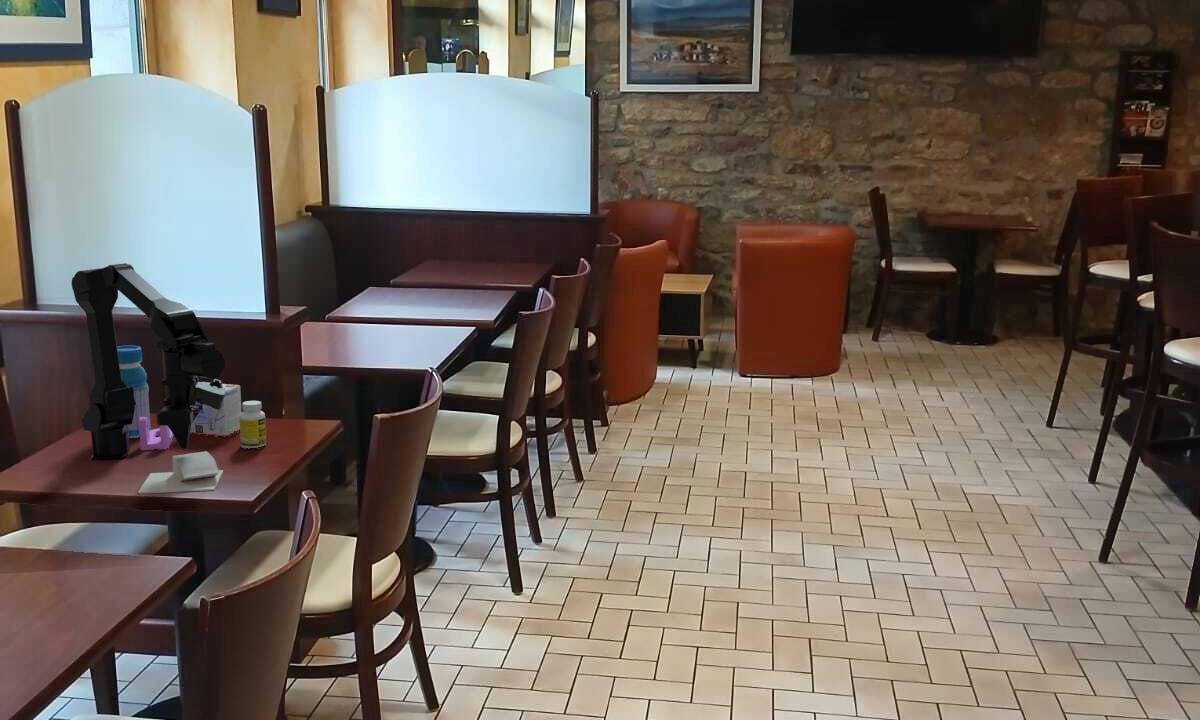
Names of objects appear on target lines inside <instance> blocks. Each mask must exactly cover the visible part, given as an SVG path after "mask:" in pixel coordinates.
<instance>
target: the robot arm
mask: <svg viewBox="0 0 1200 720" xmlns="http://www.w3.org/2000/svg"><path fill="white" fill-rule="evenodd" d="M71 288H72V291H73V294H74V298H75V299H74V300H75V302H76V304H77V305H79V307H80V308H81V310H83V312H85V315H86V323H87V329H88V337H89V344H90V350H91V359H92V365H93V371H94V380H95V382H94V385H93V388H92V389H91V392H90V394H89V408H88V409H87V411H86V412H85V414H83V415H84V416H83V417H82V419H81V424H82V428H83V430H84V431H87V432H90V433H91V434H90V435H91V447H92V455H91V456H90V460H110V459H111V460H113V459H124V458H125V457H126V456H127V454H128V453H129V452H130V450H131V446H130V439H129V432H128V431H127V432H126V427H125V425H130V424H132V422H133V416H134V412H135V405H136V402H135V399H134V390H133V388H132V387H131V386H130V387H128V386H127V385H126V384H125V383H124V381H123V380H122V378H121V372H120V365H119V358H118V351H117V345H118V344H117V337H116V331H115V323H114V316H113V309H114V307H115V305H116V303H117V301H118V298H119V292H120V293H121V294H122V295H123V296H124V297H125V298H127V300H128V301H130V302H131V303H132V304H134V306H135V307H136V308H138V310H140V311H141V312H143V314H144V315H145V316H146V317H147V318H148V322H149V323H148V324H149V327H150V328H151V330H153V332H154V333H155V334H156V336H157V337H158V338H159V339H160V340H159V341H158V342H157V343H155V345H154V348H155V349H156V350H157V349H158V350H161V352H162V366H163V379H162V381H161V384H162V386H164V393H165V399H164V400H163V408H162V409H160V411H159V412H158V413H157V415H156V425H157V426H159V427H160V426H163V425H168V427H169V429H170V430H171V432H172V433H173V435H174V438H175V440H176V442H177V443H178V445H179V447H180V448H181V449H182V450H184V449H188V446H189V441H190V434H191V433H190V430H191V425H192V422H193V421H194V420H195V418H196V417H197V415H198V414H199V412H200V410H193V407H191V406H192V405H196V402H198V403H200V405H203V404H204V405H208V406H211V407H212V408H214V409H220V407H221V406H222V403H223V400H224V397H225V394H226V390H225V388H223V387H222V384H223V381H222V380H220V379H217V378H219V377H220V376H221V375H222V374H223V372H224V369H225V367H226V359H225V358H224V355H223V353H222V352H220V350H217V349H216V344H215V343H214V342H210V340H209V338H208V337H207V333H206V331H205V330H204V328H203V327H202V325H201V323H200V321H199V320H198V318H197V315H196V314H195V312H194V311H193V310H192V309H191V308H189V307H188V306H186V305H184V304H182V303H180V302H177V301H173V300H171V299H168V298H166V297H165V296H164V295H162V293H161V292H159V291H158V290H157V289H156V288H155V287H153V286H152V285H151V284H150V283H149V282H147V280H145V279H144V278H143V277H142V276H141V275H140V274H139V273H137V272H136V271H135V269H134V266H133V265H132V264H130V263H129V264H128V263H117V264H109V265H107V266H105V267H102V268H101V267H100V268H95V269H93V268H92V269H86V270H84V269H83V270H79V271H77V272H76V273H75V274H74V276H72V278H71ZM199 378H204V379H209V380H211V379H212V380H211V381H210V382H208V383H210V384H208V383H201V382H202V381H201V382H200V381H199V380H200V379H199Z"/></svg>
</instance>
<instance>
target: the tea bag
mask: <svg viewBox="0 0 1200 720" xmlns="http://www.w3.org/2000/svg"><path fill="white" fill-rule="evenodd" d="M171 457H172V458H171V459H172V472H173V474H174V475H175V476H176V477H177V479H178V480H179V481H180V482H182V481H188V480H195V479H202V478H208V477H215V476H216V475H218V473H220V472H219V470H220V469H219V468H218V466H217V465H218V464H217V463H216V460H215V458H214V457H213V456H212V455H211V454H210V453H209V452H208V451H206V450H205V451H200V452H199V451H198V452H193V453H185V454H178V455H172V456H171Z"/></svg>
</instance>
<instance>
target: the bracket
mask: <svg viewBox="0 0 1200 720" xmlns="http://www.w3.org/2000/svg"><path fill="white" fill-rule="evenodd" d="M139 433H140V438H139V444H140V451H152V450H153V451H154V449H158V450H168V449H169V448H170V446H171V444H172V442H173V440H172V438H173V436H174V435H173V433H172V432H171V430H170V429H169V427H168V425H163V426H159V427H158V428H154V429H151V430H150V431H149V423H148V418H147V417H140V418H139ZM159 434H160V436H158V437H156V436H157V435H159ZM173 439H174V438H173ZM171 441H172V442H171ZM170 443H171V444H170ZM169 445H170V446H169ZM167 448H168V449H167Z"/></svg>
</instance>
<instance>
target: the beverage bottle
mask: <svg viewBox="0 0 1200 720" xmlns="http://www.w3.org/2000/svg"><path fill="white" fill-rule="evenodd" d="M117 351H118V358H119V365H120V372H121V378H122V380H123V381H124V383H125V384H126V385H127V386H128V387H130V386H131V387H132V388H133V390H134V399H135V402H136V405H135V412H134V416H133V422H132V424H130V425H125V427H126V432H127V431H128V432H129V438H134V439H138V438H139V437H140V433H139V418H140V417H147V418H148V423H149V431H150V430H152V427H151V426H152V425H151V415H150V400H149V391H150V390H149V389H150V388H149V384H148V383H147V379H148V375H147V372H146V370H145V369H144V367H143V366H142V365H141V363H142V362H143V352H142V351H143V350H142V348H141V346H140V345H139V346H138V345H120V346H119V345H118V346H117ZM139 439H140V438H139Z"/></svg>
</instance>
